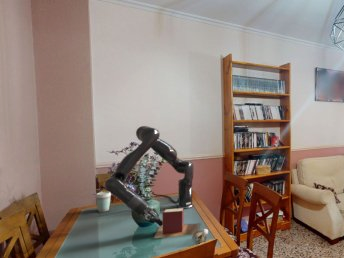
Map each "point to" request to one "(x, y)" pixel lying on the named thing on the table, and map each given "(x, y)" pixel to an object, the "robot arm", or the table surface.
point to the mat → (187, 230)
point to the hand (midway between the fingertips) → (162, 224)
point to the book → (172, 221)
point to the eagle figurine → (200, 235)
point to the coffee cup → (103, 201)
